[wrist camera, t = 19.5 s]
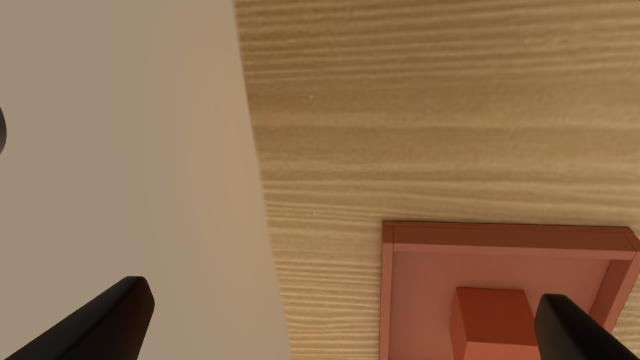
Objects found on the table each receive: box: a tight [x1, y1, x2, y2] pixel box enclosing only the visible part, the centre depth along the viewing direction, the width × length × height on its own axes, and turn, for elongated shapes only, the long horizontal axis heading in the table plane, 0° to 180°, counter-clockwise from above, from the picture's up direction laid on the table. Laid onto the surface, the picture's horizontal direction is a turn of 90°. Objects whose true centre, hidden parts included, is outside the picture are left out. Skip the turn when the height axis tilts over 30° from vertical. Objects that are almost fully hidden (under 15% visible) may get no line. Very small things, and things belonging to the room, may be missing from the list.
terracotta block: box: [449, 287, 541, 360], centre depth 25 cm, size 4×4×4 cm
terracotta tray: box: [379, 221, 640, 360], centre depth 26 cm, size 13×13×2 cm
